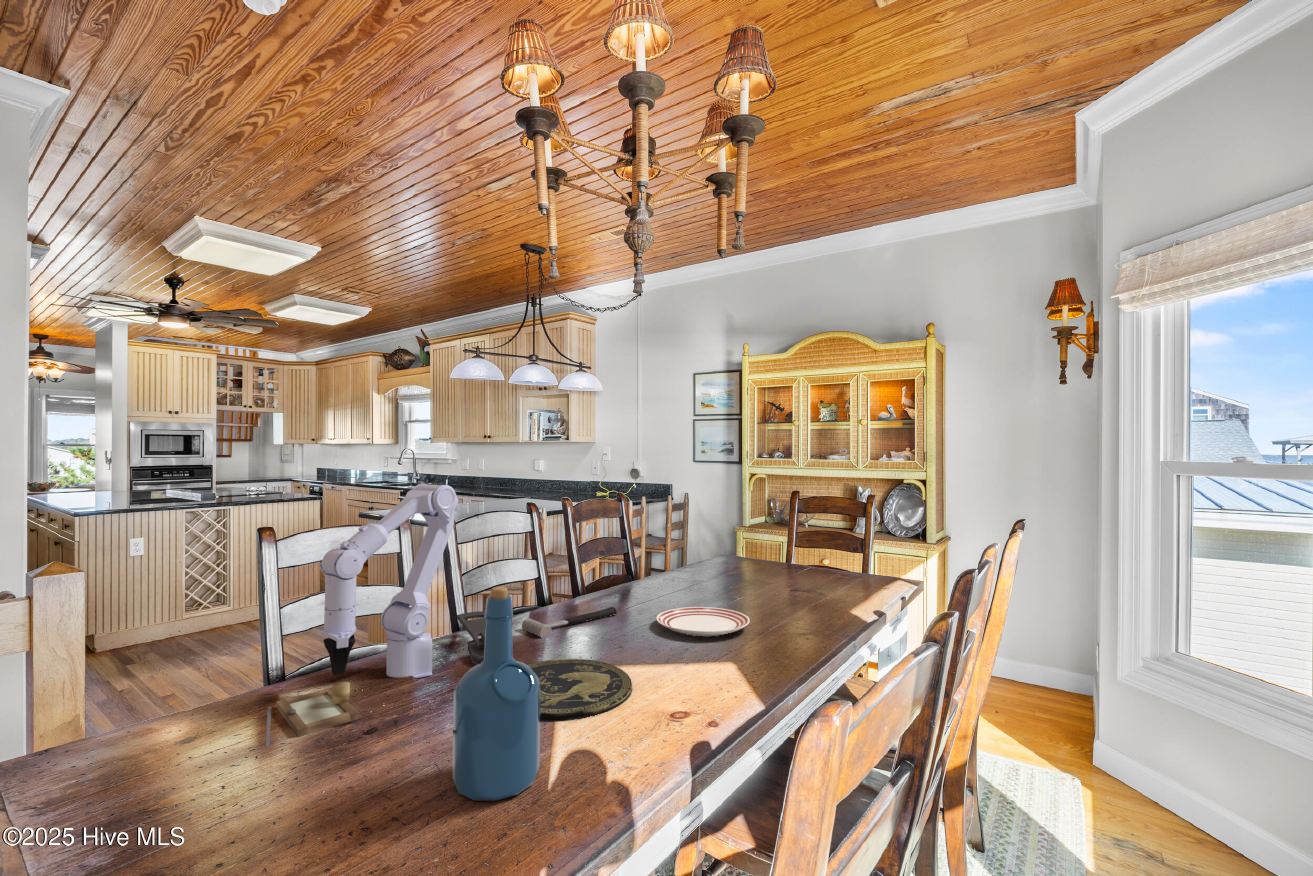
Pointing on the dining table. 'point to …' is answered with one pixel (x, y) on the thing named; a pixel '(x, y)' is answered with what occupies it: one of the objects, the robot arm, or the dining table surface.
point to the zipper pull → (475, 634)
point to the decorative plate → (579, 688)
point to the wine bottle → (496, 715)
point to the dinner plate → (703, 621)
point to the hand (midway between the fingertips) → (338, 673)
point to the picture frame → (318, 709)
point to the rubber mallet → (562, 622)
